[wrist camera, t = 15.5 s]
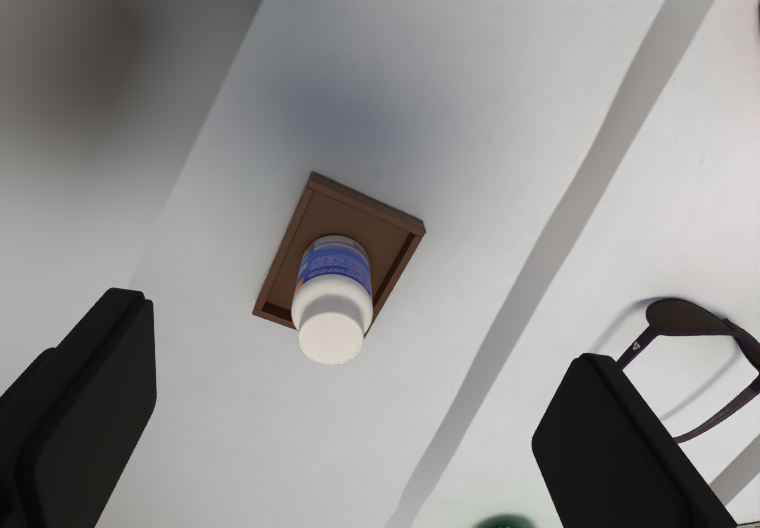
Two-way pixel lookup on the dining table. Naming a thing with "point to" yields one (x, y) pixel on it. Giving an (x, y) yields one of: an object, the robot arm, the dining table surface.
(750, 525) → the smartphone
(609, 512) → the robot arm
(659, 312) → the sunglasses
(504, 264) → the dining table surface
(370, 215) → the tray
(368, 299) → the pill bottle
